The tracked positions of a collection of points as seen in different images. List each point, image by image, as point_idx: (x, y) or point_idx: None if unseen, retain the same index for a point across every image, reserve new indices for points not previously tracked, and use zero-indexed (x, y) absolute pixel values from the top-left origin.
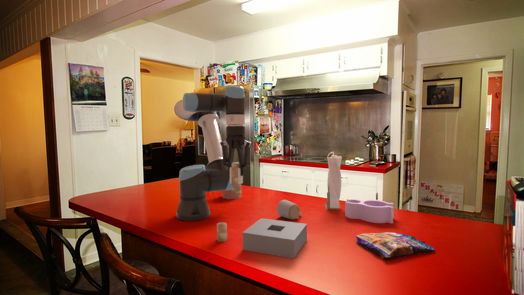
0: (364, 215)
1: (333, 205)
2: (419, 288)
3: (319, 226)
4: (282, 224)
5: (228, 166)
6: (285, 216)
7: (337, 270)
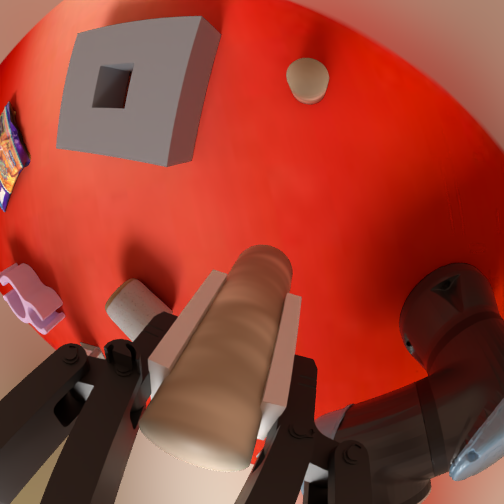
0: (31, 281)
1: (89, 354)
2: (12, 52)
3: (78, 238)
4: (99, 121)
5: (300, 422)
6: (147, 288)
7: (57, 40)
